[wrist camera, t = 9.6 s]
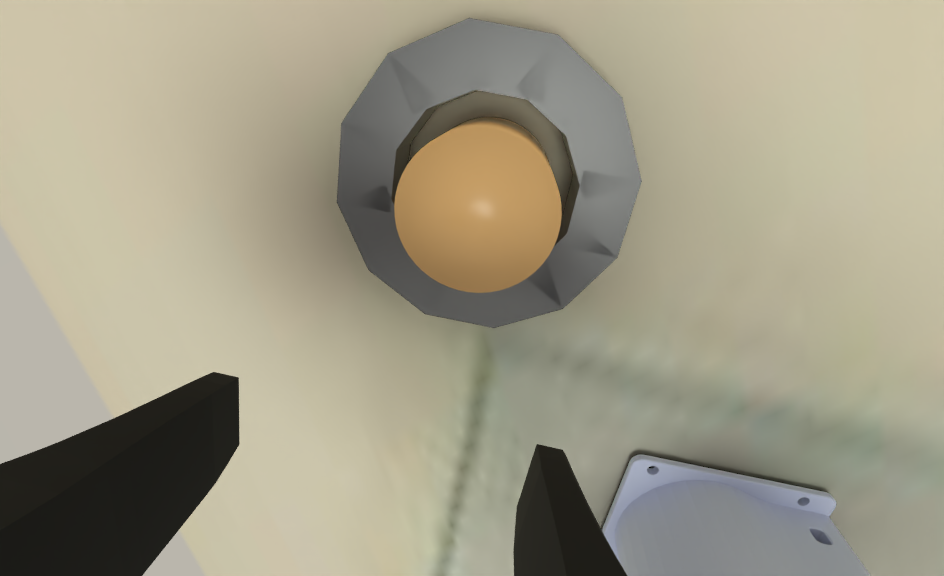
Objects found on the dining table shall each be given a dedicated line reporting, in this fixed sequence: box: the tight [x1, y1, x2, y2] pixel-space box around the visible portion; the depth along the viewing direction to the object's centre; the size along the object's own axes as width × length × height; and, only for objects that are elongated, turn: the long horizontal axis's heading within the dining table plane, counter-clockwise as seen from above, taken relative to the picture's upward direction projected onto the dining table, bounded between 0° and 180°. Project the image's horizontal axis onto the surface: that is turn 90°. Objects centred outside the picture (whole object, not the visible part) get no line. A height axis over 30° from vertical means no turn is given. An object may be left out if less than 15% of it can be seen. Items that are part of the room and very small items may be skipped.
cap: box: [394, 117, 562, 293], centre depth 16 cm, size 5×5×5 cm
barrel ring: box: [337, 18, 642, 328], centre depth 17 cm, size 10×10×2 cm
